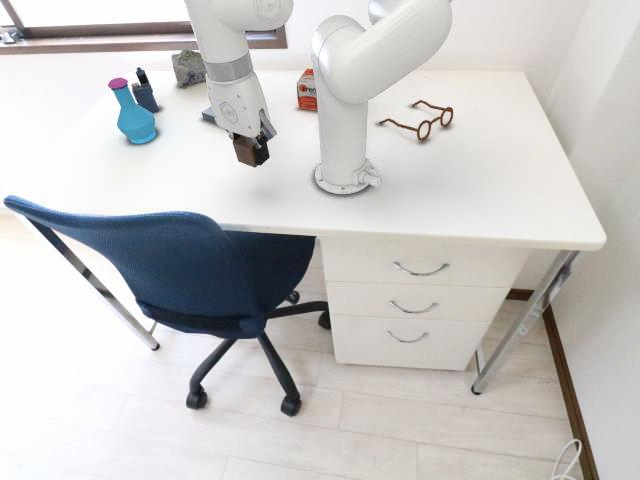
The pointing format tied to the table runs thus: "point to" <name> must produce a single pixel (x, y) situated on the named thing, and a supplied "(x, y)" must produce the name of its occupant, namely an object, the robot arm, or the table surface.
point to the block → (245, 150)
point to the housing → (208, 115)
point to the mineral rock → (188, 67)
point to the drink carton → (307, 91)
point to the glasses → (448, 109)
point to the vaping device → (144, 92)
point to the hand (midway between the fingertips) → (253, 156)
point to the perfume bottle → (132, 114)
